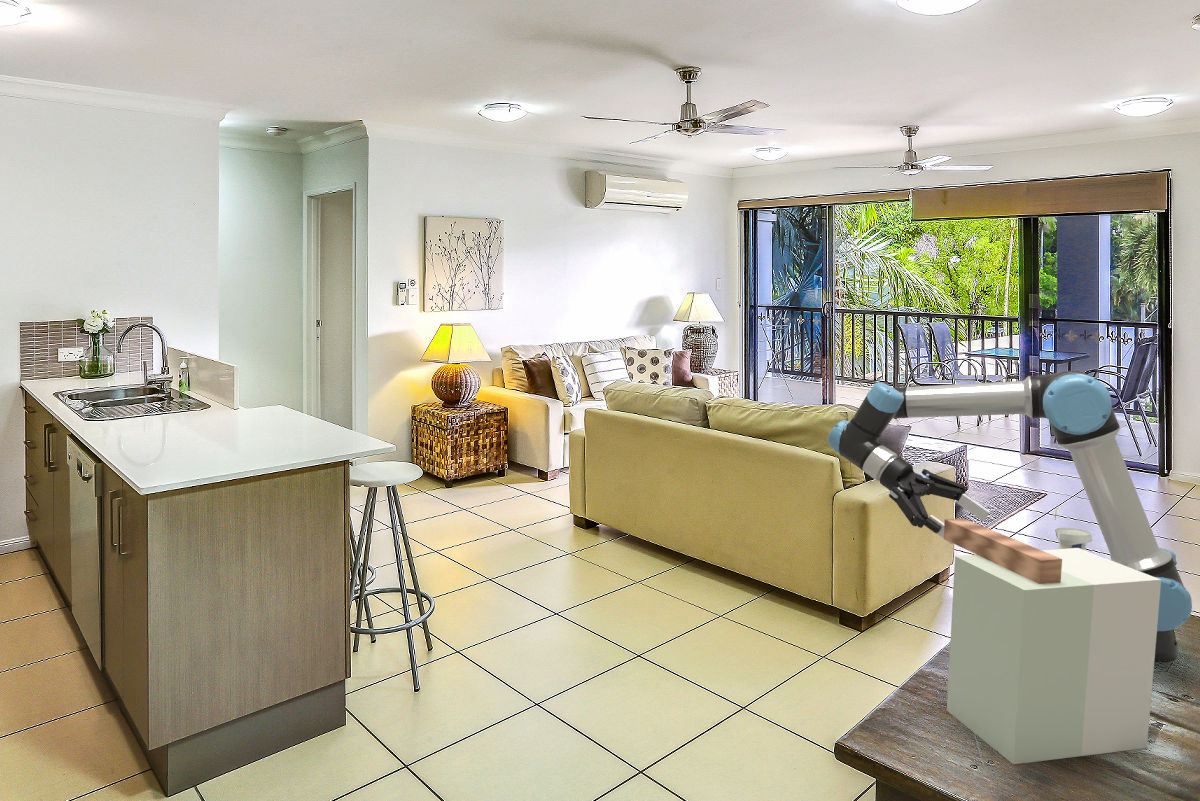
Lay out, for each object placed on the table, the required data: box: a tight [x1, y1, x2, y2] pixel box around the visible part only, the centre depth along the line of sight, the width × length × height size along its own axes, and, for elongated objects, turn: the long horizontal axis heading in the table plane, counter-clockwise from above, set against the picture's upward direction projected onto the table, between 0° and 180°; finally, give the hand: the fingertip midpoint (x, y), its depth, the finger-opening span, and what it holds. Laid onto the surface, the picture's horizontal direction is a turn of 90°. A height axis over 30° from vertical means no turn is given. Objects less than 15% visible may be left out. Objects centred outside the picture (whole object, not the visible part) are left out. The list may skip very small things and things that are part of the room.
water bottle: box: [1054, 506, 1093, 551], centre depth 200 cm, size 8×9×25 cm
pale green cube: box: [946, 548, 1161, 765], centre depth 141 cm, size 18×26×30 cm
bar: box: [943, 517, 1062, 584], centre depth 144 cm, size 26×4×4 cm, turn 11°
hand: (971, 527), depth 169 cm, fingers open, 13 cm apart
